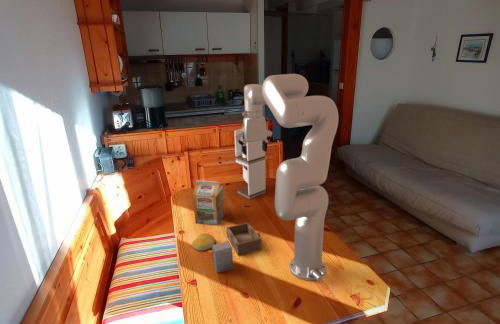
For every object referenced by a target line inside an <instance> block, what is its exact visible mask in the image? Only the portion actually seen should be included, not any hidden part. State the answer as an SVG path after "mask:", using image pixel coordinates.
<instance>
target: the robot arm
mask: <svg viewBox="0 0 500 324" xmlns="http://www.w3.org/2000/svg"><path fill="white" fill-rule="evenodd" d="M308 91H309V82H308V80H307V79H306V77H304V76H303V75H301V74H297V73H286V74H273V75H272V74H271V75H269V76H267V77H266V78H265V79H264V81H263V83H262V85H261V84H259V83H257V84H256V83H251V84H246V85H244V87H243V95H244V96H243V98H244V100H243V101H244V111H243V112H242V113H241V116H242V117H243V121H242V128H241V129H242V132H241V133H240V134H238V135H237V136H236V137H235V136H234V139H235V138H236V140H237V141H238V143H239V144H241V145H242V153H243V154H244V155H247V147H246V144H247V142H254V141H260V140H263V142H262V150H263V151H265V153H266V152H267V151H268V144H269V141H270V140H271V139H272V136H273V131H271V130H268V129H267V123H266V117H265V116H263V115H264V113H263V105H267V107H268V108H269V110H270V112H271V113H272V115H273V117H274V118H275V120H276V121H277V123H278V124H279V125H280V126H281V127H282V128H286V129H287V128H288V129H290V128H291V129H292V128H298V127H305V126H312V127H311V129H310V130H309V131H308V132H307V134H306V135H305V137H304V139H303V142H302V148H301V149H302V150H301V154H300V156H299V157H296V158H294V157H293V158H290V159H289V158H288V159H286V160H284V161H282V162H281V163H280V164H279V165H278V167H277V169H276V175H275V176H276V177H275V191H274V208H275V213H276V215H277V217H278V218H279V219H280V220H282V221H287V222H289V221H293V220H295V223H294V244H293V245H294V247H293V249H294V252H293V258H292V259H291V260H290V262H289V270H290V272H291V274H292V275H294V276H295V277H296V278H298V279H301V280H305V281H317V282H322V280H323V277H326V272H327V270H326V269H327V268H326V267H327V266H326V263H325V262H324V261H323V245H324V227H325V219H326V218H325V217H326V215H327V209H328V207H329V195H328V192H327V190H326V189H325V188H324V187H323V186H321V185H322V184H324V183H325V182H326V180H327V178H328V173H329V172H328V171H329V167H330V160H331V154H332V146H333V142H334V139H335V136H336V133H337V130H338V126H339V111H338V108H337V105H336V103H335V102H334V100H333V99H332V98H330V97H328V96H325V95H309V96H306V95H307V93H308ZM241 137H243V140H242V141H241V140H240V138H241Z"/></svg>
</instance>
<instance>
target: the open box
mask: <svg viewBox="0 0 500 324" xmlns="http://www.w3.org/2000/svg"><path fill="white" fill-rule="evenodd" d="M226 238H227V240H228V241H229V243H230V245H231V246H232V249H233V250H234V251H235V253H236V255H237V256H241V255H245V254H249V253H252V252H253V253H254V252H257V251H260V250H262V238H261V237H260V236H259V234H258V233H257V232H256V230H255V229H254V228H253V226H252V225H251V224H250V223H249V222H244V223H240V224H236V225H232V226H231V225H230V226H226Z"/></svg>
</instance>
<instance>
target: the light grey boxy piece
mask: <svg viewBox="0 0 500 324" xmlns="http://www.w3.org/2000/svg"><path fill="white" fill-rule="evenodd" d="M233 132H234V133H233V134H234V152H235V153H234V154H235V155H234V156H235V163H236V164H239V165H242V178H243V180H244V181H245V182H246V183H247V185H245V186H243V187H240V188H237V189H236V192H237V194H238V195H240V196H243V197H245V198H247V199H249V200H250V199H253V198H256V197H258V196H260V195H261V196H262V195H263V194H266V191H267V190H266V186H267V184H266V182H267V181H266V152H265V151H263V150H262V142H263V140H260V141H254V142H247V144H246V147H247V155H244V154H243V153H242V145H241V144H239V143H238V141H237V140H236V138H235V137H236V136H237V135H238V134H240V133H241V132H242V128H239V129H236V130H233ZM240 140H241V141H242V140H243V137H241V138H240Z"/></svg>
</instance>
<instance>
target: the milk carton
mask: <svg viewBox="0 0 500 324" xmlns="http://www.w3.org/2000/svg"><path fill="white" fill-rule="evenodd" d="M195 183H196V184H195V186H194V189H193V193H192V200H193V201H192V202H193V210H194V211H193V213H194V222H195V223H194V224H197V225H207V226H217V227H218V226H219V224H220V222H221V221H222V219H223V217H224V216H225V215H226V213H225V212H226V211H225V198H224V187H223V186H222V185H220V182H219V181H213V180H212V181H210V180H209V181H208V180H196V182H195Z"/></svg>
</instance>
